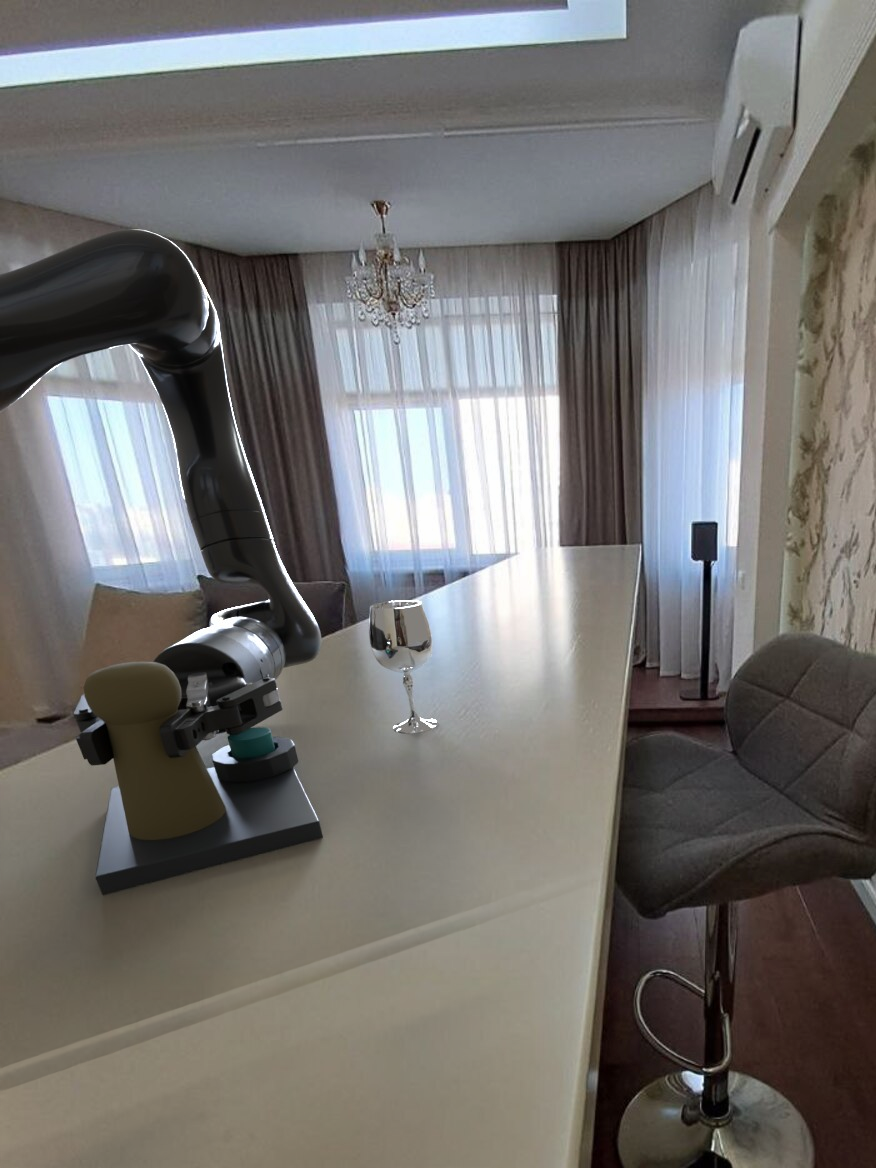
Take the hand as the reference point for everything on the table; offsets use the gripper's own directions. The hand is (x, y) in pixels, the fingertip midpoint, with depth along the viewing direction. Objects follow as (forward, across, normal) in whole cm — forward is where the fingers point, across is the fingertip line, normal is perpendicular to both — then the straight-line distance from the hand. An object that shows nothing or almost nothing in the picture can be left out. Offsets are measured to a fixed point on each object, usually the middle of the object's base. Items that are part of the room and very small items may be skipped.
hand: (131, 746), depth 43 cm
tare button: (-12, +3, +5) cm, 13 cm away
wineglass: (-23, +15, +8) cm, 29 cm away
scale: (-5, +1, +8) cm, 10 cm away
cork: (-3, 0, +7) cm, 7 cm away
